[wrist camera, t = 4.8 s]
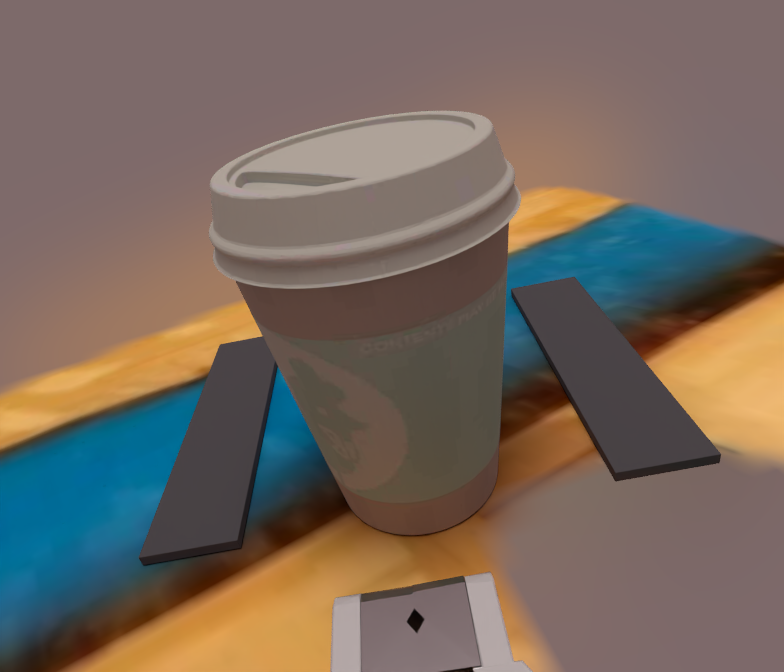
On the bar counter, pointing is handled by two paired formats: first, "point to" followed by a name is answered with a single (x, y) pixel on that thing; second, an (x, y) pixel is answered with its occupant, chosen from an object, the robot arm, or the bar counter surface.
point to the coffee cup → (382, 300)
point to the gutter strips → (558, 342)
